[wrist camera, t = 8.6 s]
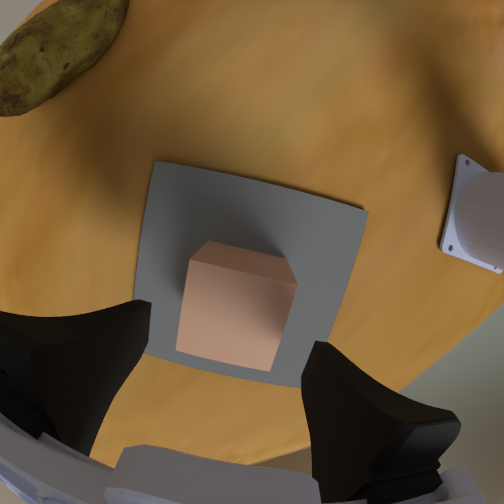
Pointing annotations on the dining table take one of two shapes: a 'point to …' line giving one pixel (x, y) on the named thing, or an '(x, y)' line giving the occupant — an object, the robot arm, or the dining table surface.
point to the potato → (55, 50)
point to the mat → (252, 238)
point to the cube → (235, 305)
